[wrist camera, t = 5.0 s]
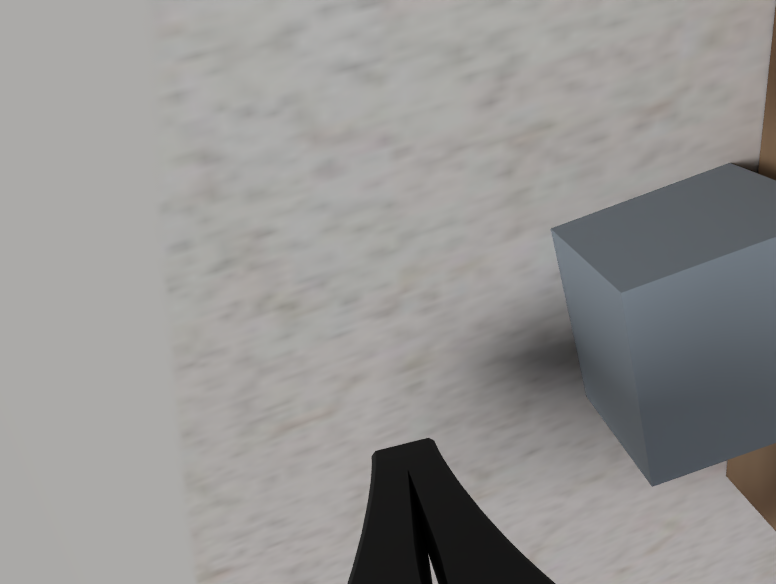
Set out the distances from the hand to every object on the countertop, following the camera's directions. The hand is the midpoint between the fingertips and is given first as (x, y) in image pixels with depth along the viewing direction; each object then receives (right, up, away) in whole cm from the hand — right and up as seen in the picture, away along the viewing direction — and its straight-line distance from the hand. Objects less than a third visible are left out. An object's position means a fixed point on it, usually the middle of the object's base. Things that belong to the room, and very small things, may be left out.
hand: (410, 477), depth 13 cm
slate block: (+7, +4, +4) cm, 9 cm away
